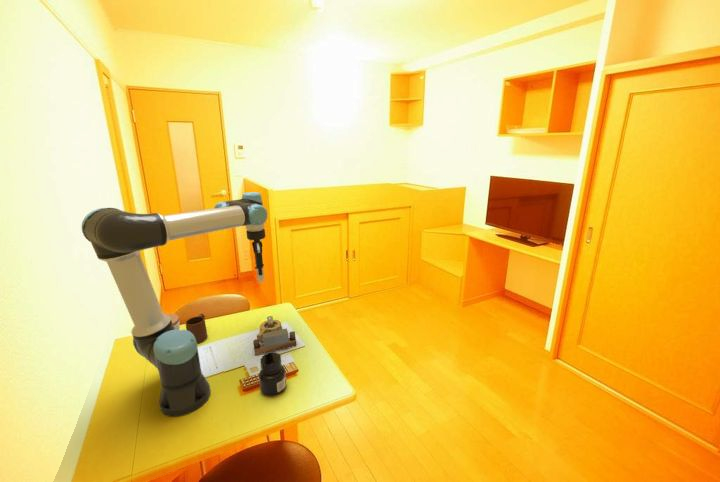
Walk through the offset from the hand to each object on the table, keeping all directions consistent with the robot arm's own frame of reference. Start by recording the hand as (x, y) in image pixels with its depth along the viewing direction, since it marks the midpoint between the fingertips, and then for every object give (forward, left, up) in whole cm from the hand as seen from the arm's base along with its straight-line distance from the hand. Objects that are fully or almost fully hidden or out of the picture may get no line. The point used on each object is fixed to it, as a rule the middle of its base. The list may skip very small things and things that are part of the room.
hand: (261, 281), depth 143 cm
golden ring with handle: (-5, 0, -23) cm, 24 cm away
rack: (-17, -2, -24) cm, 30 cm away
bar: (-17, -2, -22) cm, 28 cm away
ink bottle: (-40, +2, -25) cm, 47 cm away
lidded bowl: (+10, +42, -25) cm, 50 cm away
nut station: (-2, -2, -24) cm, 25 cm away
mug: (+6, +28, -25) cm, 38 cm away
